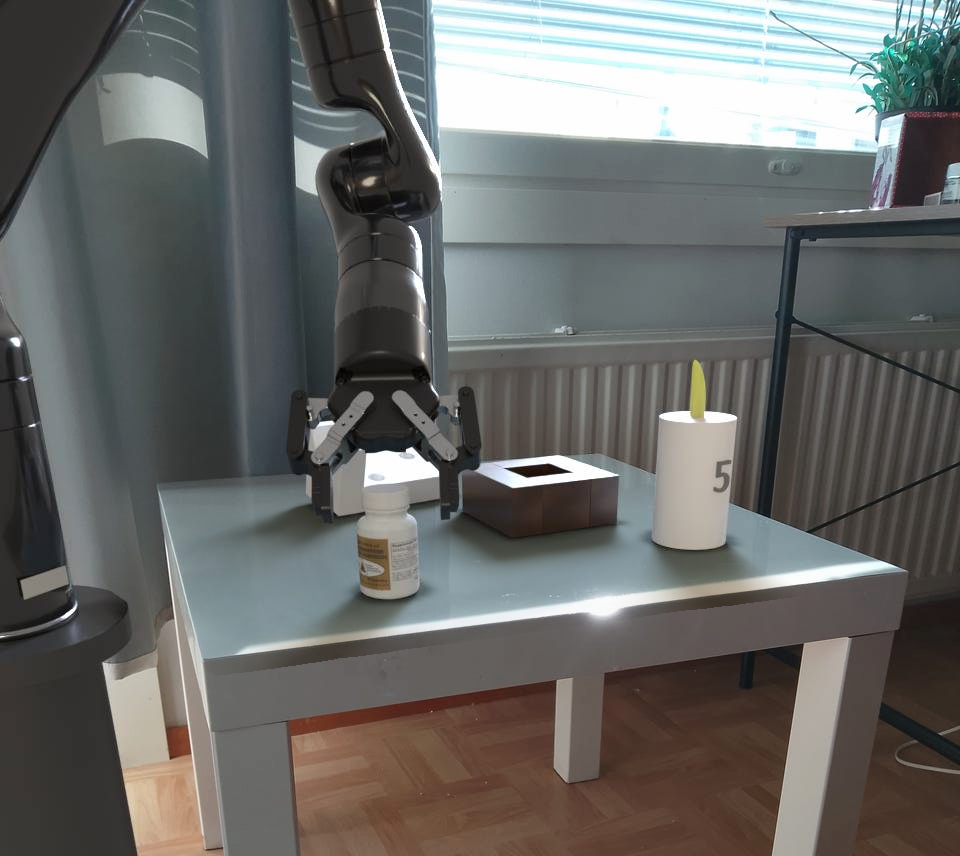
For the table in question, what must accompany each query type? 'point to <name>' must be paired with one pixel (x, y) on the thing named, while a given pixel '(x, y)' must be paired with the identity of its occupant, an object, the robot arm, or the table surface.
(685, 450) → the candle
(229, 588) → the table surface
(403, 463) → the bracket
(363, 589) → the pill bottle
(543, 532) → the socket
